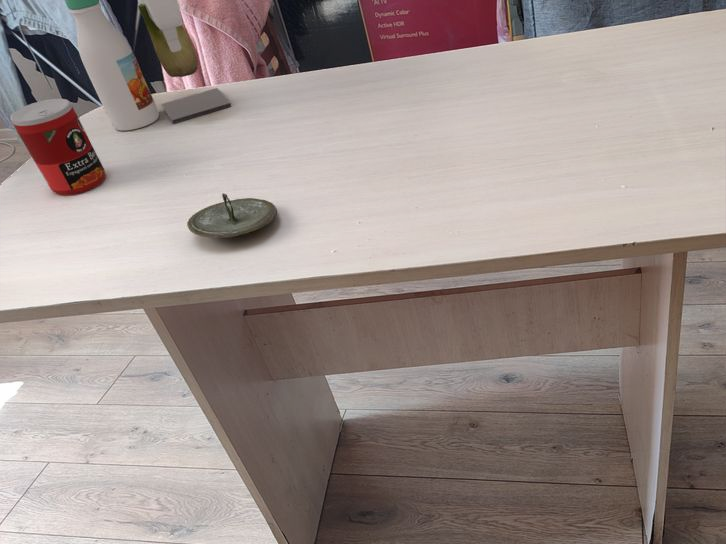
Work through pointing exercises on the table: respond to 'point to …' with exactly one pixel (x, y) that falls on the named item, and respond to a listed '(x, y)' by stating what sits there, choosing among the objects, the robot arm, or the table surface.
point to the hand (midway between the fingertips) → (173, 47)
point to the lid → (232, 217)
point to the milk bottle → (112, 68)
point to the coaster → (195, 105)
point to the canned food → (59, 146)
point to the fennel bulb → (171, 61)
